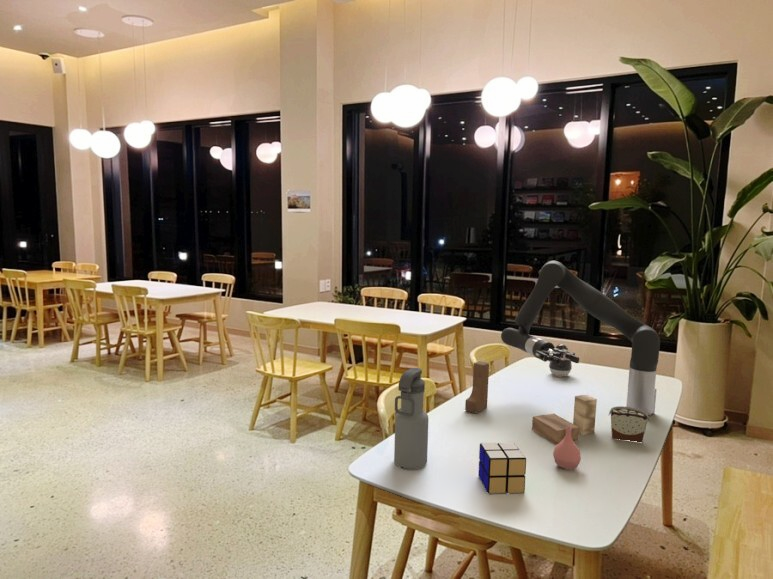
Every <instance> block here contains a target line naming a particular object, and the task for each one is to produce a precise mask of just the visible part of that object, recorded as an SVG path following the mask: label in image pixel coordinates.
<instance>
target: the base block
mask: <svg viewBox="0 0 773 579" xmlns="http://www.w3.org/2000/svg"><path fill="white" fill-rule="evenodd" d="M531 420H532V421H531V422H532V426H531V430H532V431H534V432H536V433H537V434H539V435H541V436H542V437H544V438H545V439H547V440H548V441H550V442H551V443H553V444H554V445H557V444H559V443H560V442H561V441H562V440H563V438H564V437H565V435H566V428H567V427H569V428H571V437H572V440H573V442H574V443H575V442H579V440H580V433H579V428H580V427H578V426H576V425H574V424H573V422H570V421H569V420H566V419H565V418H563V417H561V416H559V415H558V414H555V413H549V414H548V413H547V414H541V415H534V416H532V419H531Z"/></svg>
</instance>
